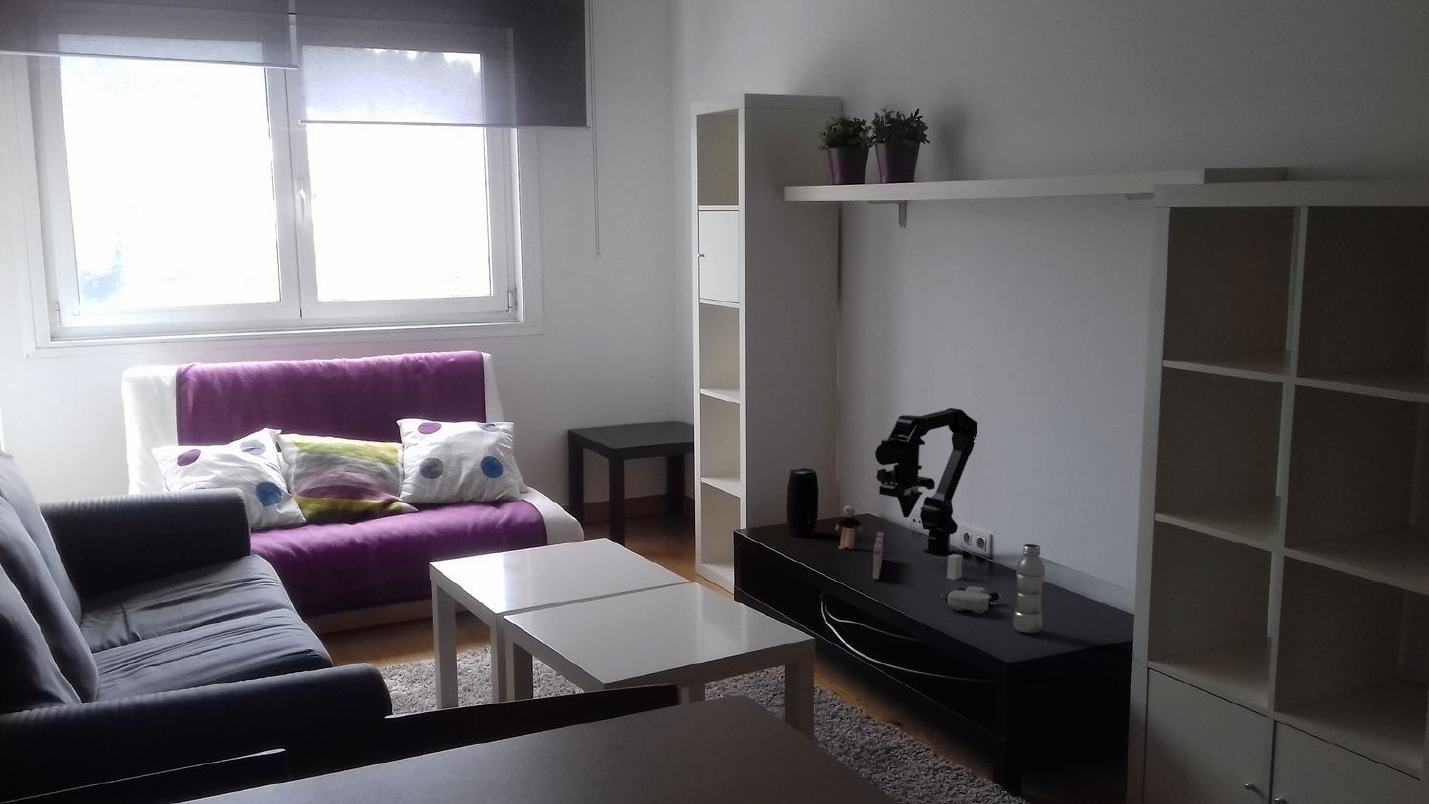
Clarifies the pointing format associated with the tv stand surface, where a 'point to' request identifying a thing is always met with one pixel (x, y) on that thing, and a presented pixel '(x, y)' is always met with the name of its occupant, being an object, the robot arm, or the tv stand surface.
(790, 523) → the portable speaker
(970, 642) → the tv stand surface
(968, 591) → the robot toy
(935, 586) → the tv stand surface
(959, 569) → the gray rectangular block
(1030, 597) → the plastic bottle
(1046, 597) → the tv stand surface
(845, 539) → the grandmother figurine
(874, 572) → the beige flat panel
